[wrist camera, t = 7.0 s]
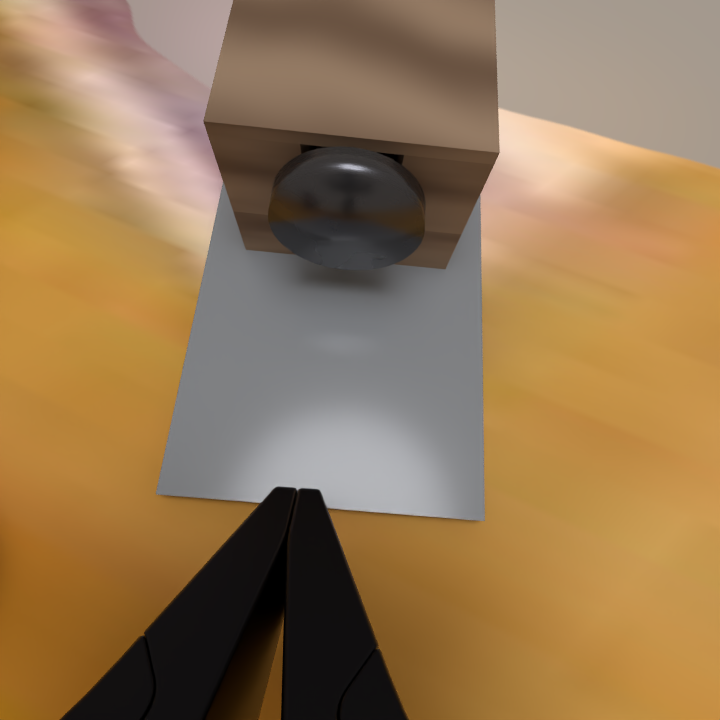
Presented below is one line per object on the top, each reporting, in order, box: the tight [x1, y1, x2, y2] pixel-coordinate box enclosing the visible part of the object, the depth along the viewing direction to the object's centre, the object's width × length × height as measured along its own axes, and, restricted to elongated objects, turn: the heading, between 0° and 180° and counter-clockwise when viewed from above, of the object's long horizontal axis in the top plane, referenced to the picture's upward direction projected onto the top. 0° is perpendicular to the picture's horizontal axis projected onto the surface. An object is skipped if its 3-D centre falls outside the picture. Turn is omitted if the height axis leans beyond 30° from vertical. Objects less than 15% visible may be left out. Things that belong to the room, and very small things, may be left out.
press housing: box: [204, 0, 499, 269], centre depth 22 cm, size 10×11×8 cm
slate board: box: [156, 182, 485, 521], centre depth 25 cm, size 23×15×1 cm, turn 176°
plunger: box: [268, 146, 426, 270], centre depth 20 cm, size 11×6×6 cm, turn 176°
